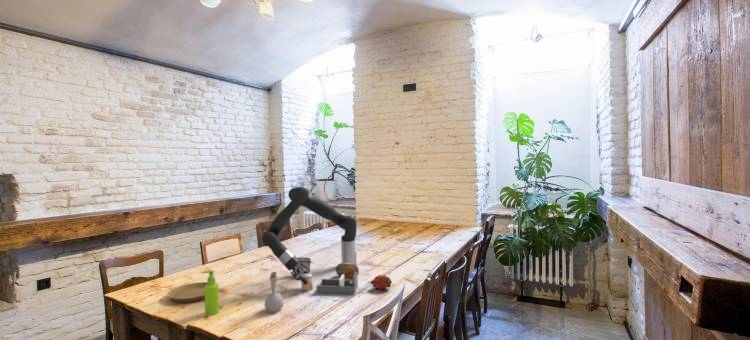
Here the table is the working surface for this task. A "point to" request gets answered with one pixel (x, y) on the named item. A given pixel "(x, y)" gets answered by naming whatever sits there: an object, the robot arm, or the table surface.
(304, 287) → the jar
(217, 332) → the table surface
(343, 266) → the brown lumpy slab
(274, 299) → the potion bottle
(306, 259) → the food container
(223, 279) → the table surface
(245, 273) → the table surface
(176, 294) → the plant saucer
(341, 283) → the pusher
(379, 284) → the dragon fruit
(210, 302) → the soap dispenser
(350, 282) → the grey low-walled tray
